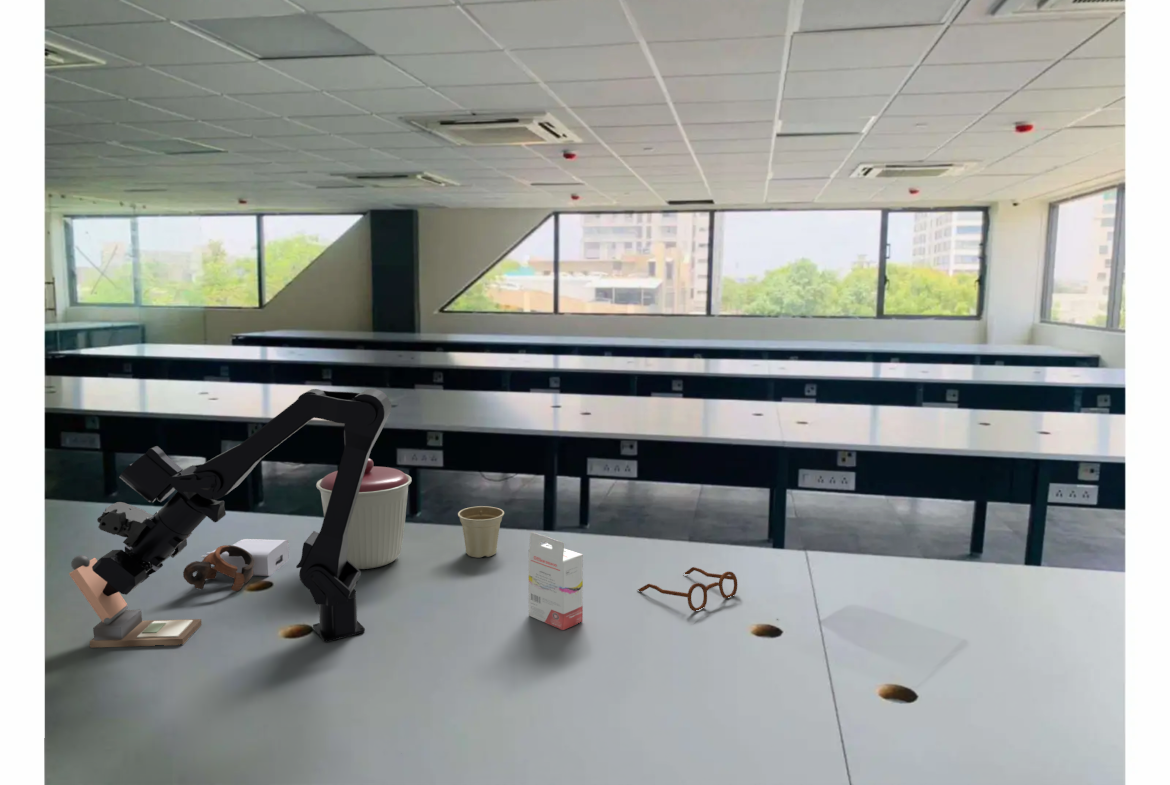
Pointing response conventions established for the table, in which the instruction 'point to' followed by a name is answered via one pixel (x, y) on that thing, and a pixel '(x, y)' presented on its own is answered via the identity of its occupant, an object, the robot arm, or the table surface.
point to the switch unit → (142, 631)
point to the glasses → (705, 589)
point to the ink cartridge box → (555, 582)
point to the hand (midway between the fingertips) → (107, 592)
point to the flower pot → (481, 529)
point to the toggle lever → (96, 590)
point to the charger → (260, 555)
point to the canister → (374, 515)
